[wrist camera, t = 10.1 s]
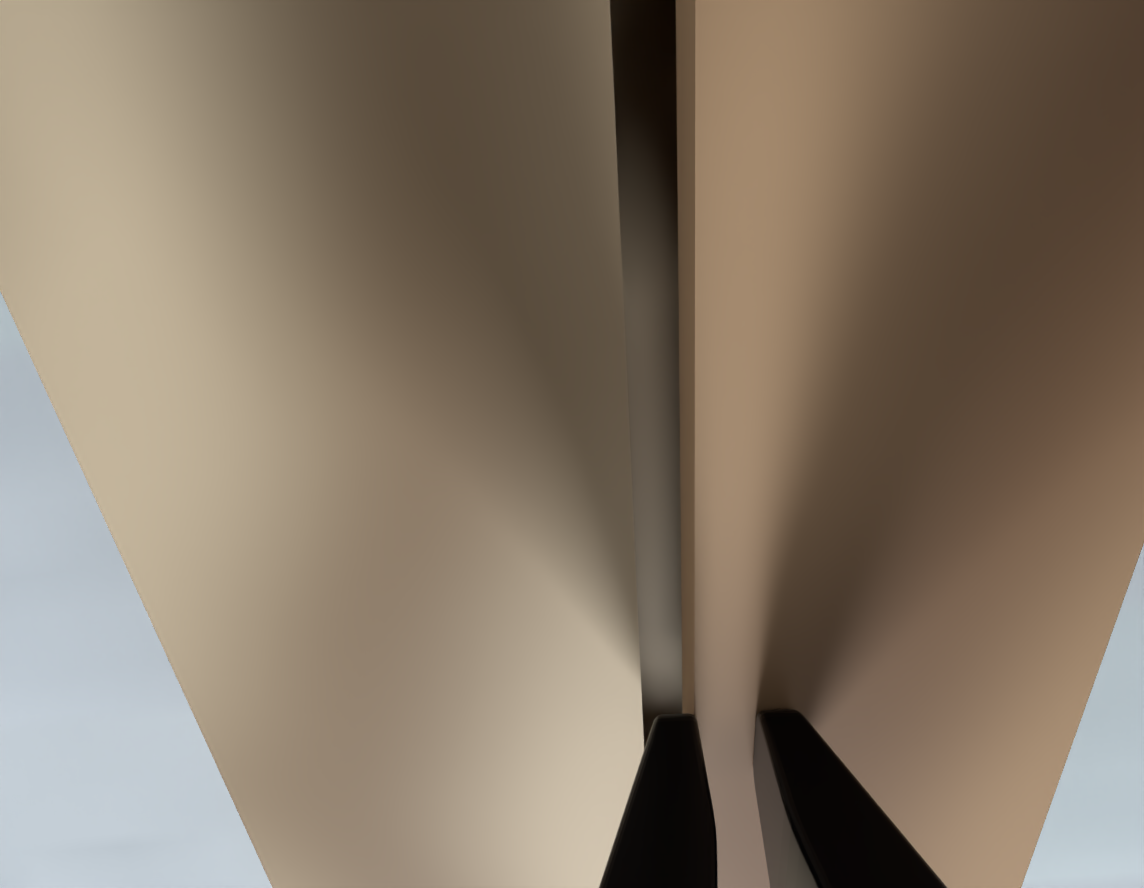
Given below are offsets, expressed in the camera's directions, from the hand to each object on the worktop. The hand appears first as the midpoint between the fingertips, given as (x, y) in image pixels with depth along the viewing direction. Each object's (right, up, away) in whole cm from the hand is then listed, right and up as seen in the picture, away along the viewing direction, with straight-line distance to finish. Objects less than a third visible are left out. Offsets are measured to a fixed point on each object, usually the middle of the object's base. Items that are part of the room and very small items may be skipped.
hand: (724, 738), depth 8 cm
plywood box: (-1, +2, +4) cm, 5 cm away
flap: (+2, 0, 0) cm, 2 cm away
